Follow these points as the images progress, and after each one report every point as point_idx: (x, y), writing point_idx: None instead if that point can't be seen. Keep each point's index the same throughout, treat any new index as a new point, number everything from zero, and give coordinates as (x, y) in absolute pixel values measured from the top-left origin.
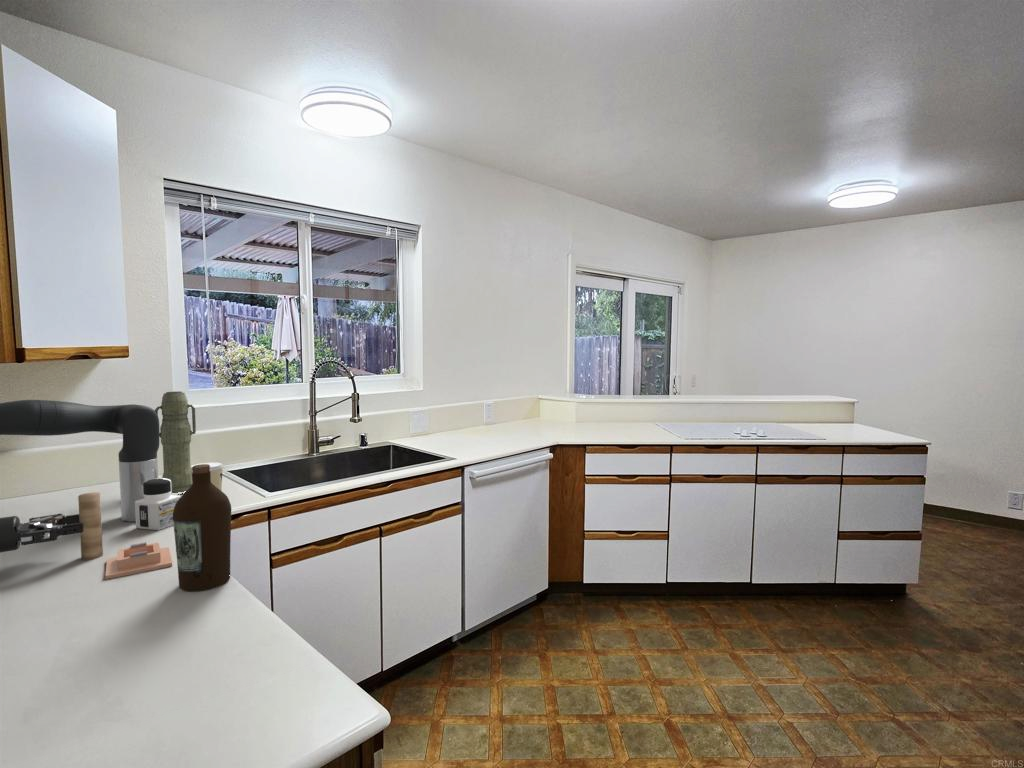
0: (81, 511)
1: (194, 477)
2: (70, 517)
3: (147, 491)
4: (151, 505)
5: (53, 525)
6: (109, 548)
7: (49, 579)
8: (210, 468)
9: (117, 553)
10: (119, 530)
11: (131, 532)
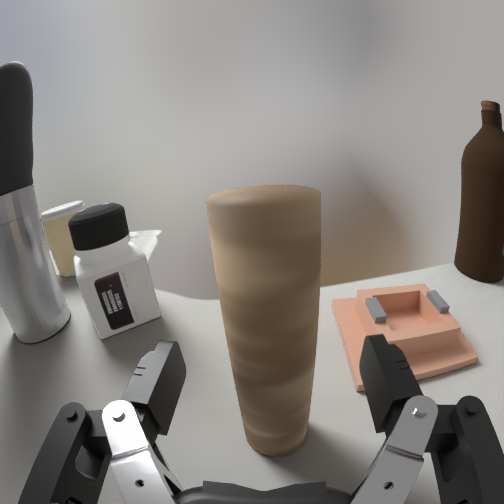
0: (306, 300)
1: (501, 118)
2: (157, 392)
3: (102, 236)
4: (129, 266)
5: (174, 479)
6: (221, 396)
7: None
8: (80, 205)
9: (414, 337)
10: (80, 361)
11: (120, 349)
